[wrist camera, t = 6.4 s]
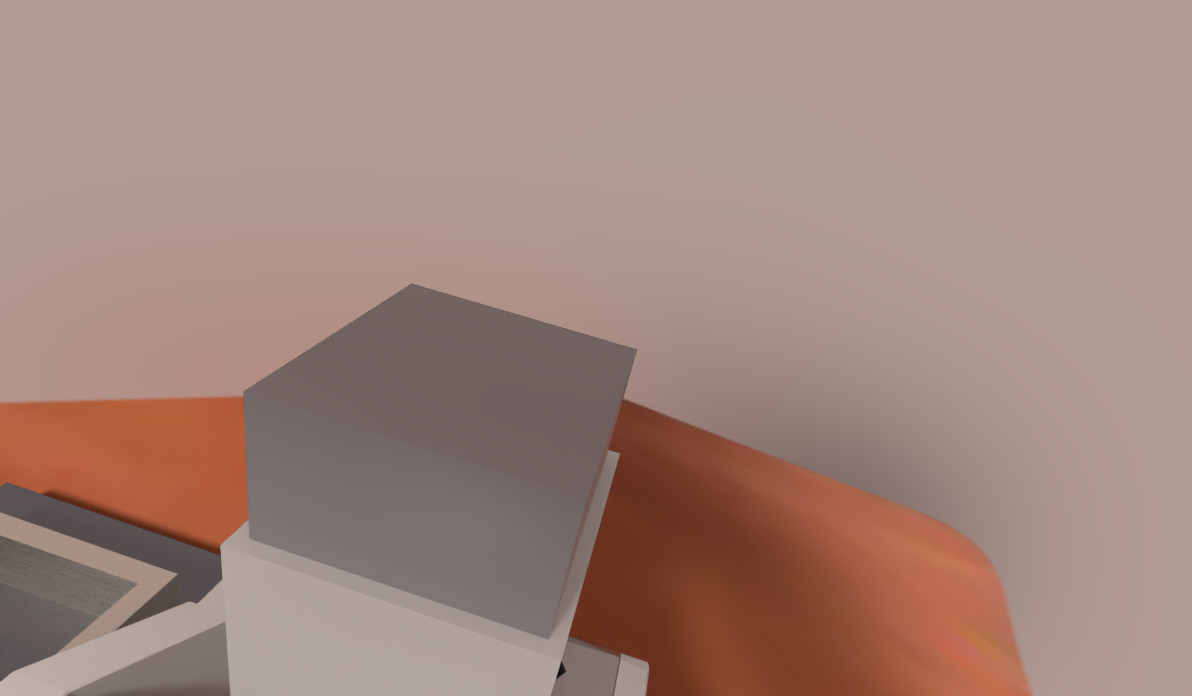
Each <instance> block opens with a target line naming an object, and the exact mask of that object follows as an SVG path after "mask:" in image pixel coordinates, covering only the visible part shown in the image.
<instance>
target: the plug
mask: <svg viewBox="0 0 1192 696" xmlns="http://www.w3.org/2000/svg"><path fill="white" fill-rule="evenodd" d="M636 351H637V349H633V348H630V347H626V346H623V345H619V344H616V343H613V342H609V341H606V340H602V339H599V338H595V337H592V336H589V335H585V334H582V333H579V332H575V331H572V330H568V329H565V328H561V327H558V326H555V325H551V324H548V323H544V322H541V321H538V320H534V319H531V318H527V317H524V316H520V315H517V314H514V313H510V312H507V311H503V310H500V309H496V308H493V307H490V306H486V305H483V304H479V303H476V302H473V301H469V300H466V299H462V298H459V297H455V296H452V295H449V294H445V293H442V292H438V291H435V290H432V289H428V288H425V287H421V286H418V285H414V284H411V285H409V286H408V287H406V288H405V289H403V290H401V291H400V292H398V293H397V294H395V295H393V296H392V297H390V298H389V299H387V300H386V301H384V302H382V303H381V304H380V305H378V306H376V307H375V308H373V309H372V310H370V311H368V312H367V313H365V314H364V315H362V316H361V317H359V318H357V319H356V320H354V321H353V322H351V323H350V324H348V325H347V326H345V327H343V328H342V329H340V330H339V331H338V332H336V333H334V334H332V335H331V336H329V337H328V338H326V339H325V340H323V341H322V342H320V343H318V344H317V345H315V346H314V347H312V348H311V349H309V350H308V351H306V352H304V353H303V354H301V355H300V356H298V357H297V358H295V359H293V360H292V361H290V362H289V363H287V364H286V365H284V366H283V367H281V368H280V369H278V370H276V371H275V372H273V373H272V374H270V375H269V376H267V377H265V378H264V379H263V380H261V381H259V382H258V383H256V384H255V385H253V386H252V387H250V388H248V389H247V390H245V391H244V412H245V438H246V464H247V490H248V517H249V520H248V521H247V522H245V523H244V524H243V525H242V526H241V527H240V528H239V529H238V530H237V531H236V532H235V533H233V534H232V535H231V536H230V537H229V538H228V539H227V540H226V541H225V542H224V543H223V544H221V545H220V547H221V562H222V577H223V592H224V607H225V622H226V637H227V652H228V667H229V682H230V696H551V693H552V690H553V687H554V683H555V680H556V677H557V673H558V670H559V667H560V663H561V660H562V656H563V653H564V649H565V646H566V642H567V639H568V635H569V632H570V628H571V625H572V621H573V618H574V614H575V610H576V607H577V603H578V600H579V596H580V593H581V589H582V586H583V582H584V579H585V575H586V572H587V568H588V565H589V561H590V558H591V554H592V551H593V547H594V544H595V540H596V537H597V533H598V530H599V526H600V522H601V519H602V515H603V512H604V508H605V505H606V501H607V498H608V494H609V491H610V487H611V484H612V480H613V477H614V473H615V470H616V466H617V463H618V459H619V456H620V453H617V452H614V451H610V450H608V449H609V446H610V442H611V439H612V435H613V432H614V428H615V425H616V421H617V418H618V414H619V411H620V407H621V404H622V400H623V397H624V393H625V390H626V386H627V383H628V379H629V376H630V372H631V369H632V365H633V362H634V358H635V355H636Z"/></svg>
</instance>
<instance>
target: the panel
mask: <svg viewBox="0 0 1192 696" xmlns="http://www.w3.org/2000/svg"><path fill="white" fill-rule="evenodd" d="M222 579H223V577H222V562H221V555H218V554H215V553H212V552H209V551H206V550H203V549H200V548H197V547H194V546H191V545H188V544H186V543H183V542H180V541H177V540H174V539H171V538H168V537H165V536H162V535H159V534H156V533H153V532H150V531H148V530H145V529H142V528H139V527H136V526H133V525H130V524H127V523H124V522H121V521H118V520H115V519H112V518H110V517H107V516H104V515H101V514H98V513H95V512H92V511H89V510H86V509H83V508H80V507H77V506H74V505H72V504H69V503H66V502H63V501H60V500H57V499H54V498H51V497H48V496H45V495H42V494H39V493H36V492H33V491H31V490H28V489H25V488H22V487H19V486H16V485H13V484H10V483H6V484H4V485H2V486H1V487H0V682H1V681H2V680H3V679H5V678H6V677H7V676H8V675H9V674H11V673H12V672H13V671H16V670H18V669H21V668H23V667H26V666H28V665H31V664H33V663H36V662H38V661H41V660H43V659H46V658H48V657H51V656H53V655H56V654H58V653H61V652H63V651H66V650H68V649H71V648H73V647H76V646H79V645H81V644H84V643H86V642H89V641H91V640H94V639H96V638H99V637H101V636H104V635H106V634H109V633H111V632H114V631H116V630H119V629H121V628H124V627H126V626H129V625H131V624H134V623H136V622H139V621H141V620H144V619H146V618H149V617H151V616H154V615H156V614H159V613H161V612H164V611H166V610H169V609H171V608H174V607H176V606H179V605H181V604H184V603H186V602H189V601H190V602H194V603H197V604H198V603H199V602H200V601H201V600H202V599H203V598H204V597H205V596H206V595H207V594H208V593H209V592H210V591H211V590H212V589H213V588H214V587H215V586H216V585H217V584H218V583H219V582H220V581H221V580H222Z"/></svg>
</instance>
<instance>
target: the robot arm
mask: <svg viewBox="0 0 1192 696" xmlns="http://www.w3.org/2000/svg"><path fill="white" fill-rule="evenodd" d="M648 674H649V665H648V662H646V661H643V660H640V659H637V658H634V657H631V656H628V655H624V654H619V652H618V651H615V650H612V649H608V648H605V647H602V646H599V645H596V644H593V643H590V642H587V641H583V640H580V639H577V638H574V637H571V636H568V639H567V642H566V646H565V649H564V653H563V656H562V660H561V663H560V667H559V670H558V673H557V677H556V680H555V683H554V687H553V690H552V693H551V696H646V690H647V682H648ZM0 696H230V682H229V667H228V652H227V637H226V622H225V607H224V592H223V579H222V580H221V581H220V582H219V583H218V584H217V585H216V586H215V587H214V588H213V589H212V590H211V591H210V592H209V593H208V594H207V595H206V596H205V597H204V598H203V599H202V600H201V601H200V602H199V603H198V604H197V603H194V602H190V601H189V602H186V603H184V604H181V605H179V606H176V607H174V608H171V609H169V610H166V611H164V612H161V613H159V614H156V615H154V616H151V617H149V618H146V619H144V620H141V621H139V622H136V623H134V624H131V625H129V626H126V627H124V628H121V629H119V630H116V631H114V632H111V633H109V634H106V635H104V636H101V637H99V638H96V639H94V640H91V641H89V642H86V643H84V644H81V645H79V646H76V647H73V648H71V649H68V650H66V651H63V652H61V653H58V654H56V655H53V656H51V657H48V658H46V659H43V660H41V661H38V662H36V663H33V664H31V665H28V666H26V667H23V668H21V669H18V670H16V671H13V672H12V673H11V674H9V675H8V676H7V677H6V678H5V679H3V680H2V681H1V682H0Z"/></svg>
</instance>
